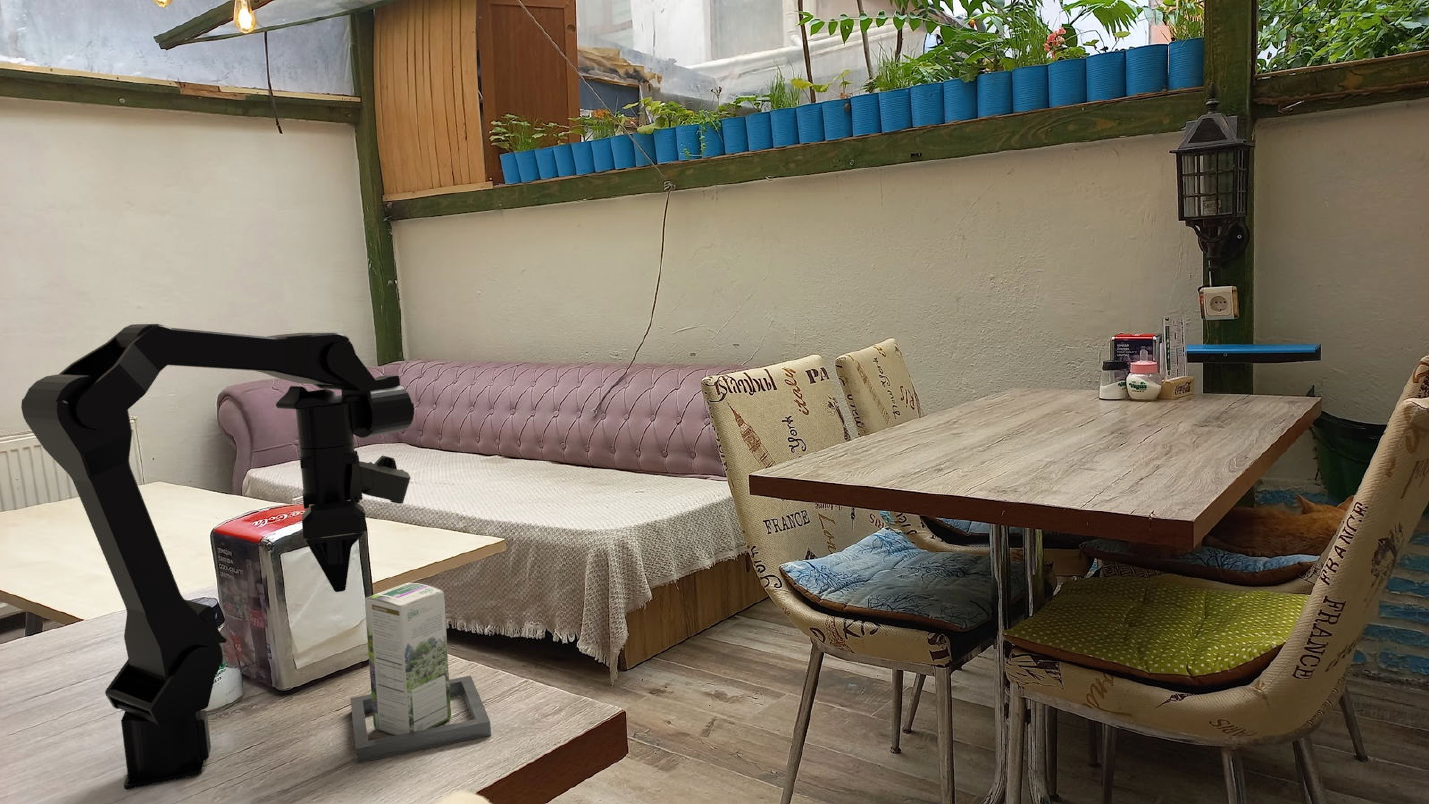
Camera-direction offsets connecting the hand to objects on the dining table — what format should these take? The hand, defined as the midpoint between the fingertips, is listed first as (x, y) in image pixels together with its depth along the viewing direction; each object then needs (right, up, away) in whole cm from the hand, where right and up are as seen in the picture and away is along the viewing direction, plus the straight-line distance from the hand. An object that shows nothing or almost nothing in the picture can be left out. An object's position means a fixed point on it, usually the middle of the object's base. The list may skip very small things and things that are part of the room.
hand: (338, 579), depth 110 cm
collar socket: (+12, -14, -8) cm, 20 cm away
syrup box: (+11, -14, -8) cm, 20 cm away
